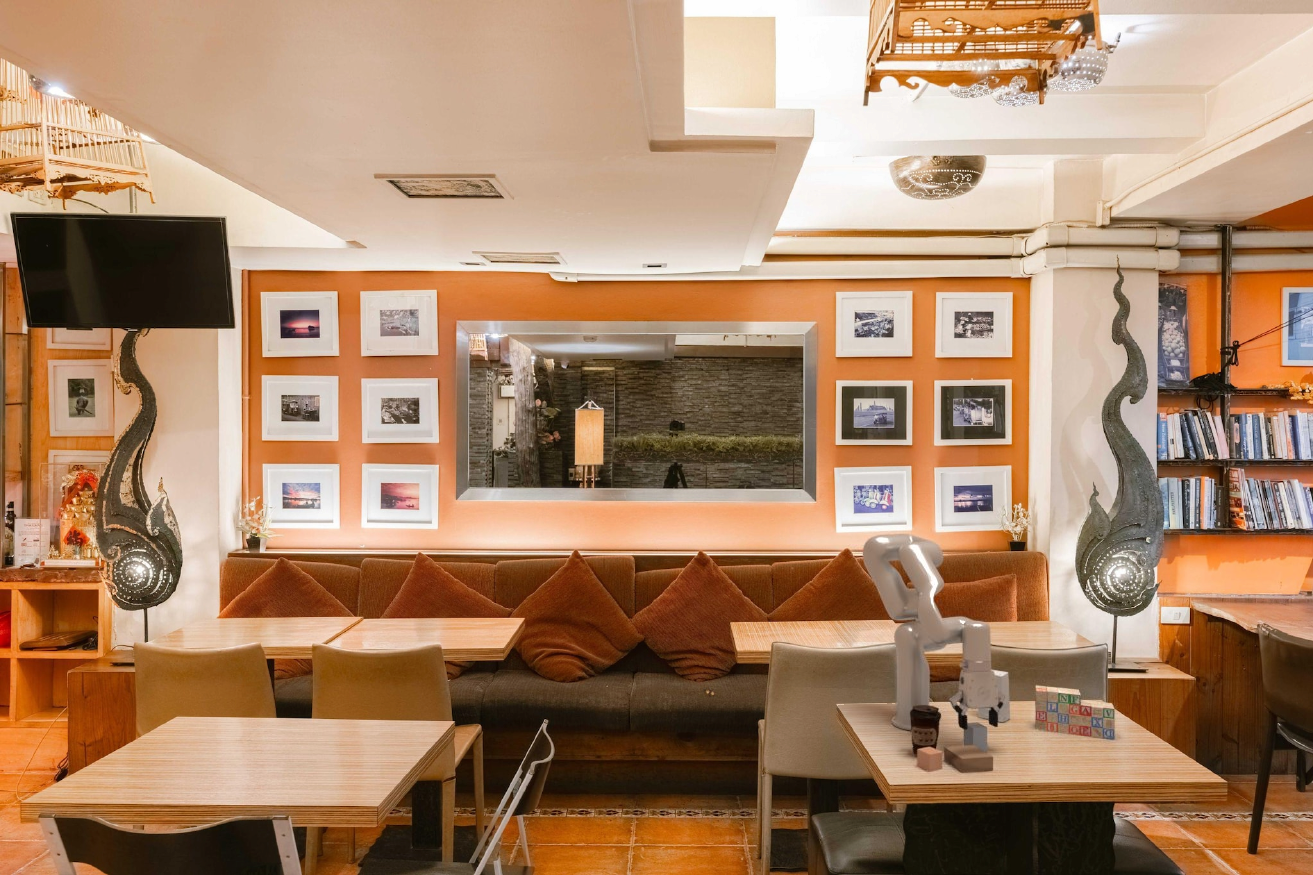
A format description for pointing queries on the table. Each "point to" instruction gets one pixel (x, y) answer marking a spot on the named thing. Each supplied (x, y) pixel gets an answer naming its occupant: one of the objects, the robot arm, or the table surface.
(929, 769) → the terracotta cube
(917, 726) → the coffee cup
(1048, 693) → the stack of blocks
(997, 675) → the skincare box
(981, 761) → the plinth
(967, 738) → the slate block
